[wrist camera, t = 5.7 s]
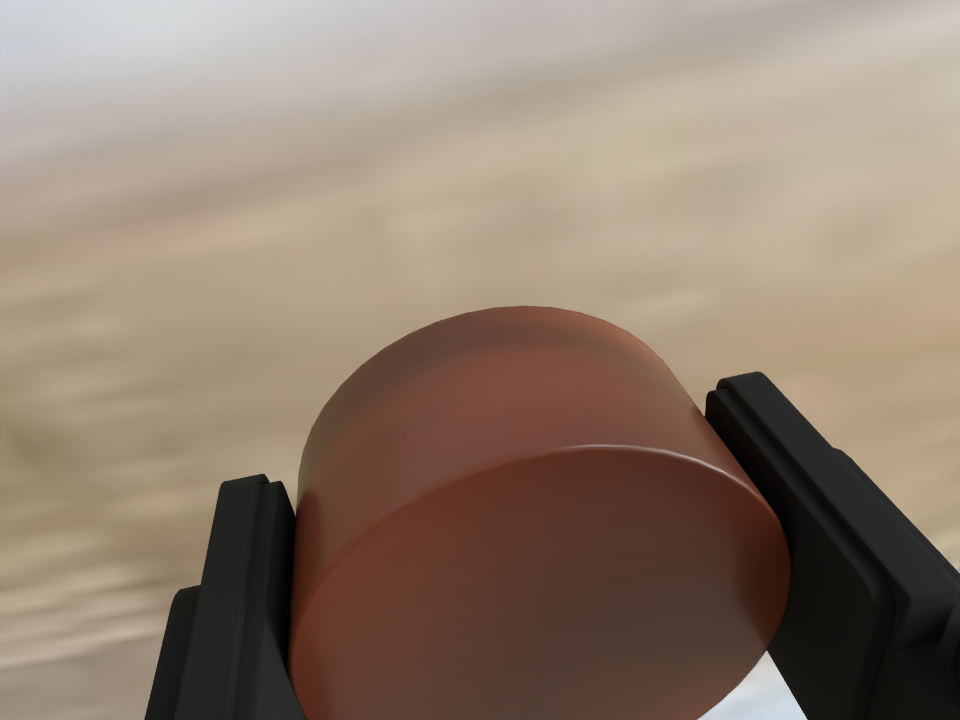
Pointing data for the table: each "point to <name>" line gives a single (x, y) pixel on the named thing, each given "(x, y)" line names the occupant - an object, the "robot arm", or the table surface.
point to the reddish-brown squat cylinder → (525, 534)
